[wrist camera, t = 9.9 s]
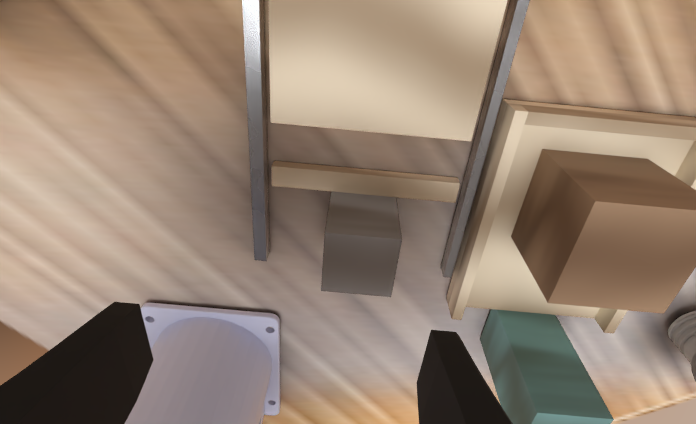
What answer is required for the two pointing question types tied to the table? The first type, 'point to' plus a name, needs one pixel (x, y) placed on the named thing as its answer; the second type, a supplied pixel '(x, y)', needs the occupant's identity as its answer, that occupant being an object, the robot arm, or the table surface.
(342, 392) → the table surface
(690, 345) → the light bulb
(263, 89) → the lane rails
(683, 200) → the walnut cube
